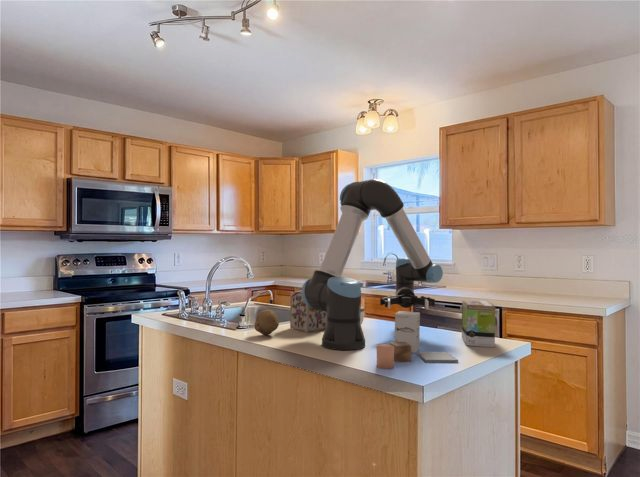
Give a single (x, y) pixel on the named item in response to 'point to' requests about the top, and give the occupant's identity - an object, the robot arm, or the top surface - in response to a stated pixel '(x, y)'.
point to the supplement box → (408, 328)
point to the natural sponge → (266, 322)
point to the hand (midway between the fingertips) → (408, 305)
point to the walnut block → (401, 351)
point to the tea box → (478, 323)
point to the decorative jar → (305, 315)
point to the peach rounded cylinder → (385, 356)
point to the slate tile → (437, 357)
